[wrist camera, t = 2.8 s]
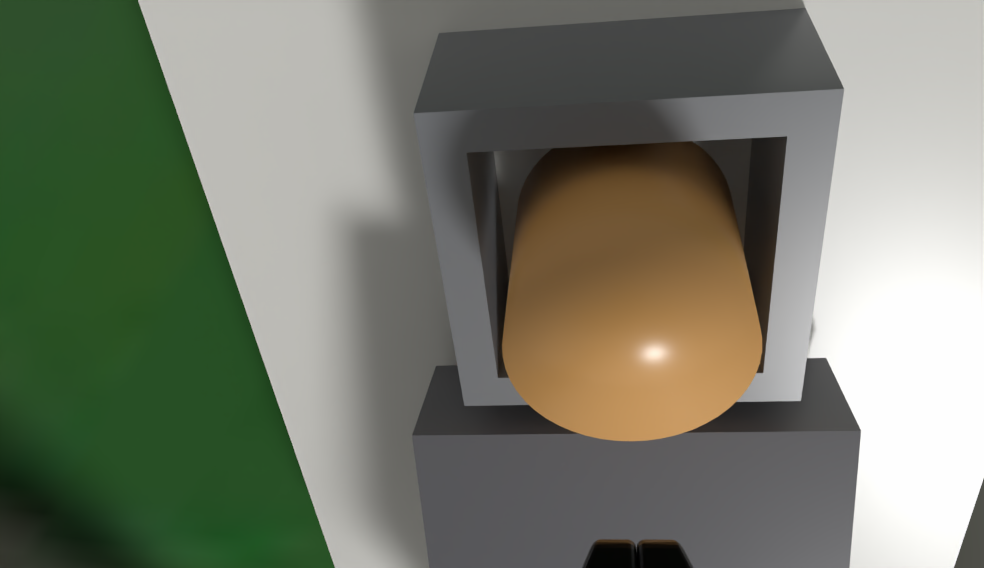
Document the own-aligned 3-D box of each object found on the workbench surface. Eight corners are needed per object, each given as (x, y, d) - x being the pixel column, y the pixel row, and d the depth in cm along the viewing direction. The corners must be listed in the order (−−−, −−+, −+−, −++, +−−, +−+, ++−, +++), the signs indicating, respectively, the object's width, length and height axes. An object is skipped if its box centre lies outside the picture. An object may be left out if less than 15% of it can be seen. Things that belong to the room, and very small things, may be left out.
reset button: (727, 298, 15) (752, 440, 12) (525, 304, 15) (514, 441, 13) (738, 117, 13) (772, 244, 10) (507, 130, 13) (488, 254, 11)
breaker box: (872, 566, 27) (938, 803, 22) (399, 562, 29) (358, 780, 23) (1056, -195, 15) (1307, -62, 9) (212, -117, 16) (44, 31, 11)
